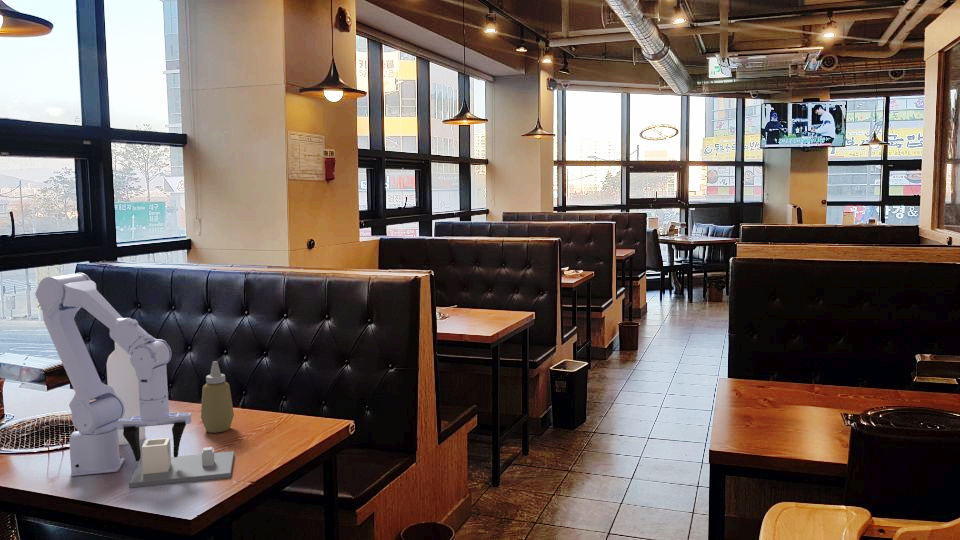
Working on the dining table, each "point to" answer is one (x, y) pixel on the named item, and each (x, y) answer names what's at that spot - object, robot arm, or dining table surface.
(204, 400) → the squeeze bottle
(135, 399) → the bottle
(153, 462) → the sleeve
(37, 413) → the dining table surface
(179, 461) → the base plate
